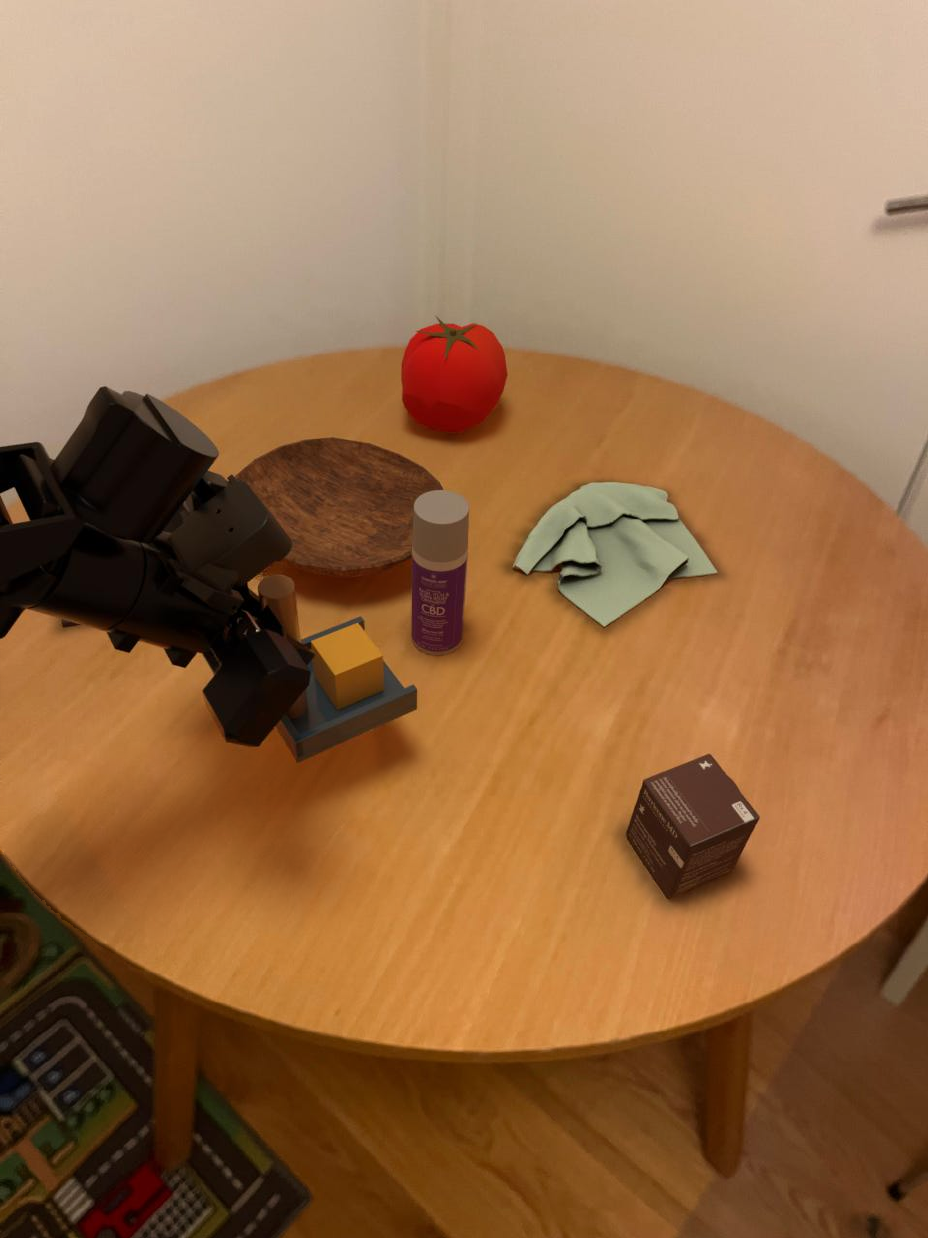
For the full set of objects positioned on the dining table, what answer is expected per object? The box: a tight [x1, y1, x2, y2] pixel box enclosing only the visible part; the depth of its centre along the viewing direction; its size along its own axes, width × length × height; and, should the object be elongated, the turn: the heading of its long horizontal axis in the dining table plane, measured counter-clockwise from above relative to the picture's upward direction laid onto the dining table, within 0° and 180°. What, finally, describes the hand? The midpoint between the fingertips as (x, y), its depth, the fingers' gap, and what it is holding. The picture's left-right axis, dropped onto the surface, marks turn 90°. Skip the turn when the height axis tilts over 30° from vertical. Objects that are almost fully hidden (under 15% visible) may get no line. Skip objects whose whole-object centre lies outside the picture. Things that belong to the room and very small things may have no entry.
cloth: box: [512, 481, 718, 628], centre depth 93 cm, size 20×22×2 cm
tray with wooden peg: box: [257, 574, 418, 764], centre depth 66 cm, size 10×9×13 cm
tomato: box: [400, 315, 508, 434], centre depth 106 cm, size 12×13×12 cm
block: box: [311, 623, 384, 710], centre depth 70 cm, size 4×4×4 cm
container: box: [411, 489, 470, 656], centre depth 79 cm, size 5×5×15 cm
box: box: [625, 753, 761, 899], centre depth 66 cm, size 6×6×7 cm
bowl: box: [234, 436, 444, 578], centre depth 92 cm, size 20×22×5 cm
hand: (302, 646), depth 65 cm, fingers closed on tray with wooden peg, 2 cm apart
